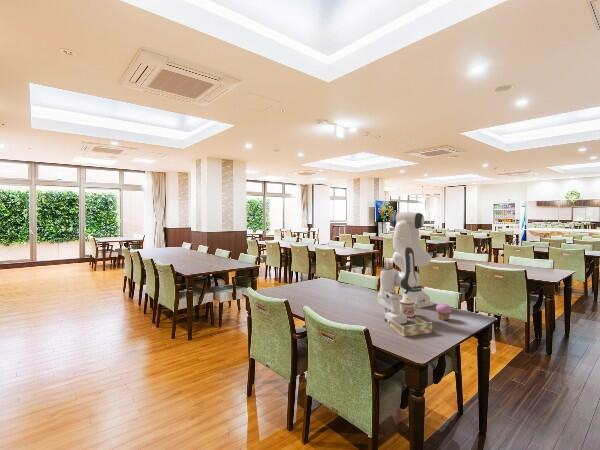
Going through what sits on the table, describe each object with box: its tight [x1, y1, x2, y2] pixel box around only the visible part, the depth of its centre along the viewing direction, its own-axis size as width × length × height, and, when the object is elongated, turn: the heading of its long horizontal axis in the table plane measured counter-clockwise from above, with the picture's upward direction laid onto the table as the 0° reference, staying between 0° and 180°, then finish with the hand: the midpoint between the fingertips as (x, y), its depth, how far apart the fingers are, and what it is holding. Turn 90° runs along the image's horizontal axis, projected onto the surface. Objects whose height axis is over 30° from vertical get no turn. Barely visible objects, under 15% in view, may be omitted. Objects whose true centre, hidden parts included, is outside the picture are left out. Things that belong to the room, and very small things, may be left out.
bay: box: [389, 316, 433, 337], centre depth 177 cm, size 18×14×6 cm
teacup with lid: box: [399, 297, 418, 318], centre depth 204 cm, size 12×9×12 cm
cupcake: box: [435, 302, 453, 321], centre depth 194 cm, size 9×9×10 cm
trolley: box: [383, 310, 408, 325], centre depth 193 cm, size 11×9×5 cm
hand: (387, 314), depth 200 cm, fingers closed
